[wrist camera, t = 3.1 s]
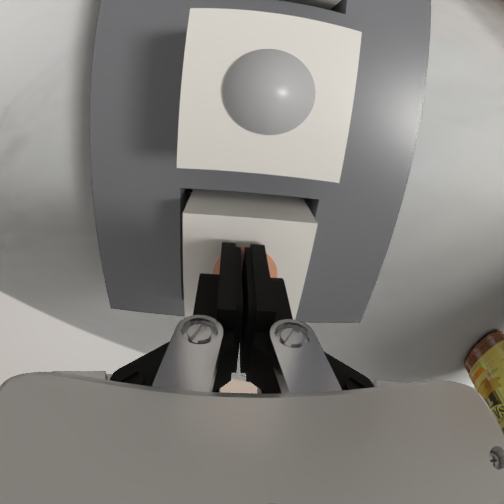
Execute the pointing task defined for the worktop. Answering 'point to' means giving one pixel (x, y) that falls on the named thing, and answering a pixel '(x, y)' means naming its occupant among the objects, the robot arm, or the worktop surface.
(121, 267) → the slotted grey tray
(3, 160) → the worktop surface
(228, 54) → the plain key
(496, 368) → the sauce bottle
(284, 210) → the dot key
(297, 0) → the dot key
